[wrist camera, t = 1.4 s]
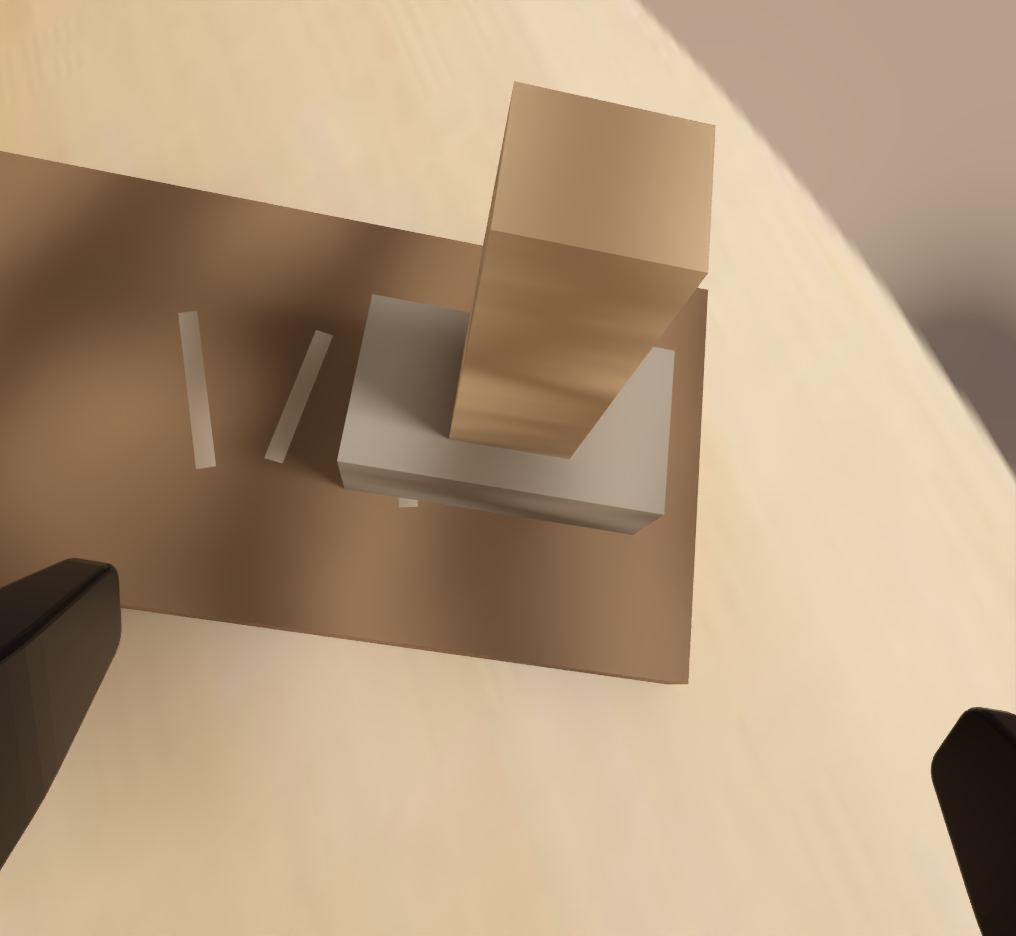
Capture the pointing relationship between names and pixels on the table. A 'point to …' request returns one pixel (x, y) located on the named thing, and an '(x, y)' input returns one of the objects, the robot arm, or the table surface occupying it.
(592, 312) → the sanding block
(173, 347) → the walnut board
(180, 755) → the table surface
